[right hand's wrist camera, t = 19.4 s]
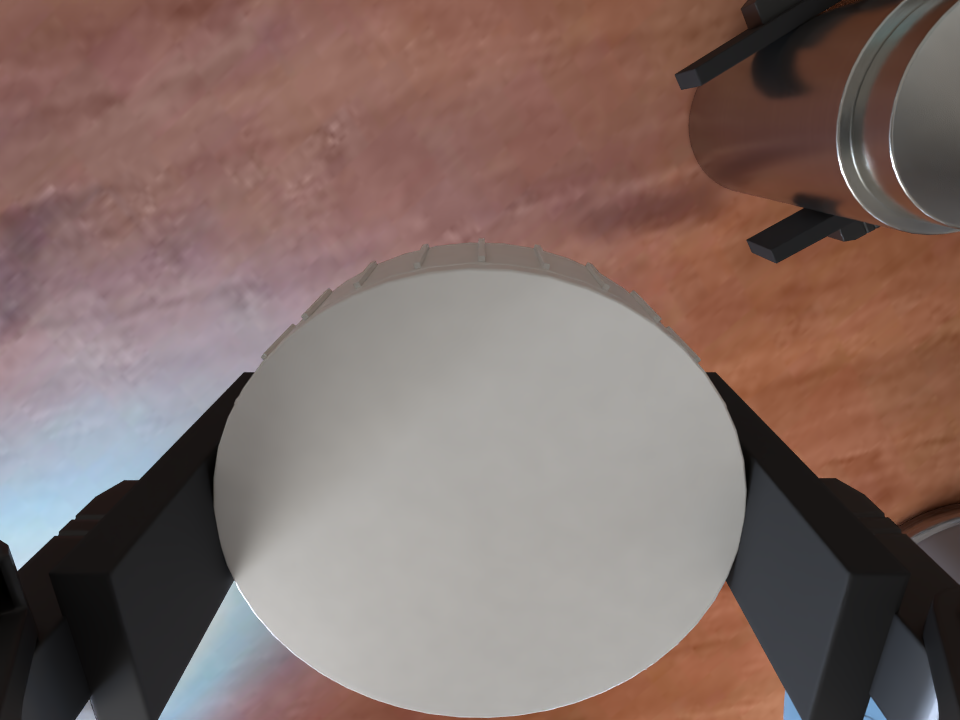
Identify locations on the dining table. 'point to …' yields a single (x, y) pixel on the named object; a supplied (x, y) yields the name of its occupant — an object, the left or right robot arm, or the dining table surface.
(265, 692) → the dining table surface
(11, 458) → the dining table surface
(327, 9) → the dining table surface
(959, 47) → the jar
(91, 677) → the right robot arm
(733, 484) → the lid
